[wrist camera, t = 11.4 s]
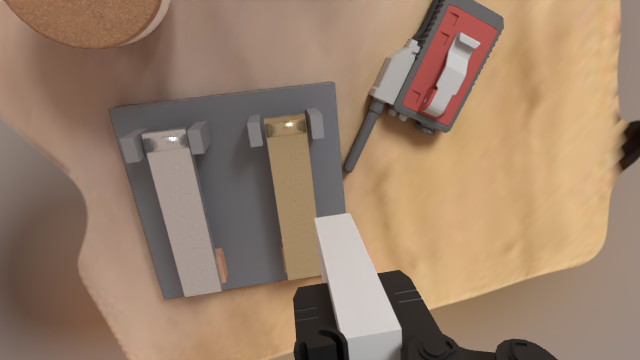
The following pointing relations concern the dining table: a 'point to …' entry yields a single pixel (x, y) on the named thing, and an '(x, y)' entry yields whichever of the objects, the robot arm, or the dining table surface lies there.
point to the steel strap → (183, 209)
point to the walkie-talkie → (433, 69)
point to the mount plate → (233, 174)
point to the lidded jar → (91, 20)
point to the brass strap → (294, 193)
